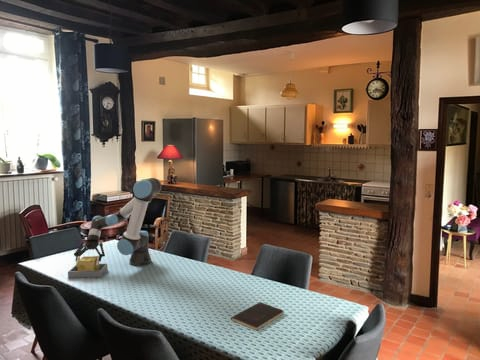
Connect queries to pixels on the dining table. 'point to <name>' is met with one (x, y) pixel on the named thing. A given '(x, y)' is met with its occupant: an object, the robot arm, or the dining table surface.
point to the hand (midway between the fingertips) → (86, 265)
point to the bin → (87, 272)
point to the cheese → (88, 264)
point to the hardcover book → (257, 315)
